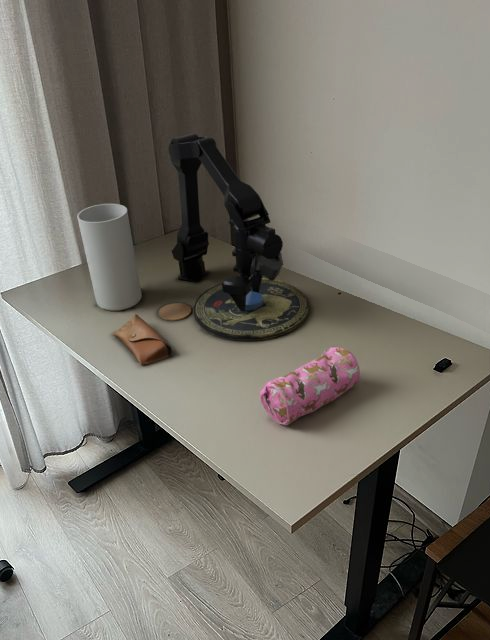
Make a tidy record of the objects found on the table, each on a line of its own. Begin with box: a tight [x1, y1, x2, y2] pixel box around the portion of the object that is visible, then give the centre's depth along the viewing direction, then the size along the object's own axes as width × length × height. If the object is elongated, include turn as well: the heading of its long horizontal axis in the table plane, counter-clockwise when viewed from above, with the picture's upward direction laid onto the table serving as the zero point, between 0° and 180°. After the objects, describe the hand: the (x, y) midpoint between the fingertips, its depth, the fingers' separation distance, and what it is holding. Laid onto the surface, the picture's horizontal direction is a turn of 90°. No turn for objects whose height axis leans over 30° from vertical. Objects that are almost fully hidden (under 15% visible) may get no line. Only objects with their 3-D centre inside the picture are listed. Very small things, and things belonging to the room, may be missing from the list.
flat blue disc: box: [245, 292, 263, 311], centre depth 154 cm, size 7×7×2 cm
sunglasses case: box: [112, 313, 173, 366], centre depth 146 cm, size 18×7×7 cm, turn 32°
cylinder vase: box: [76, 203, 143, 312], centre depth 159 cm, size 12×12×25 cm
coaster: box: [158, 302, 192, 322], centre depth 159 cm, size 9×9×1 cm
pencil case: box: [259, 346, 361, 426], centre depth 122 cm, size 21×9×9 cm, turn 128°
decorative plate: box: [192, 277, 309, 342], centre depth 156 cm, size 30×2×30 cm
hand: (249, 302), depth 154 cm, fingers open, 9 cm apart
